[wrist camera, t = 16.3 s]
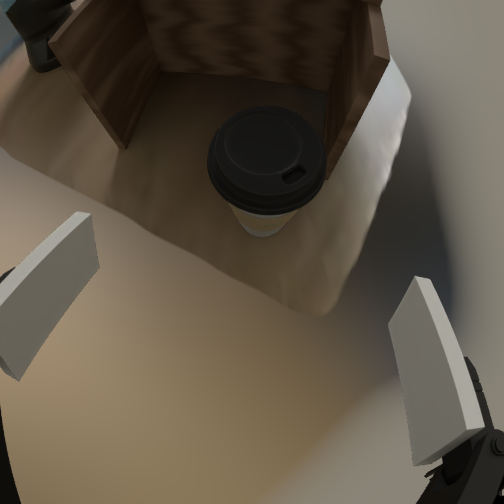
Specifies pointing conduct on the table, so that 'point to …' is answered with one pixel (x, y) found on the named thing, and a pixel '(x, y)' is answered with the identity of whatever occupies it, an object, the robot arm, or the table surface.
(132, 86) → the walnut box
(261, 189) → the coffee cup
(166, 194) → the table surface
